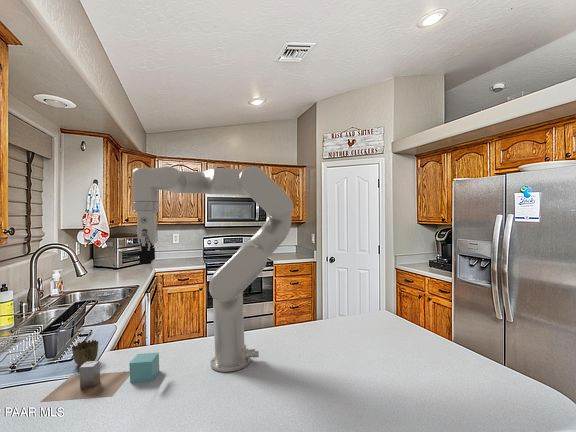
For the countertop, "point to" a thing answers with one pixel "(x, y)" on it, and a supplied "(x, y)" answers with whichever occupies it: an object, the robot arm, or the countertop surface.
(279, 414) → the countertop surface
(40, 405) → the countertop surface
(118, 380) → the walnut board
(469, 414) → the countertop surface
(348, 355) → the countertop surface
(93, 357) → the olive patterned hollow container
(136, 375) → the aqua foam cube
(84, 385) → the metal post
